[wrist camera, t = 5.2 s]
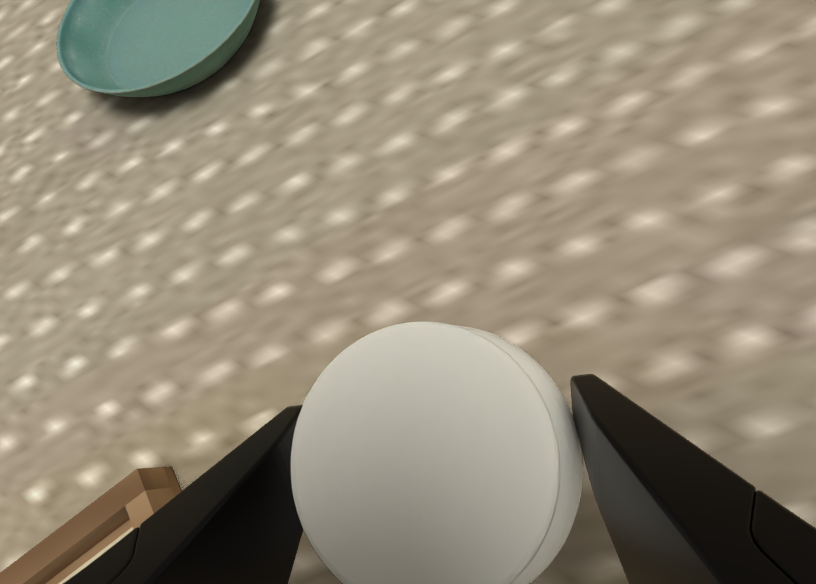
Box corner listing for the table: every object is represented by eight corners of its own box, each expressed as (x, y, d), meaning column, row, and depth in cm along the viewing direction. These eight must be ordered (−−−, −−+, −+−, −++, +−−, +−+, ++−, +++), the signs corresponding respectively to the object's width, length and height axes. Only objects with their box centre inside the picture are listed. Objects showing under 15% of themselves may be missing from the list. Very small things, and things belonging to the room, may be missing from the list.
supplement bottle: (414, 360, 17) (301, 257, 8) (563, 389, 15) (635, 302, 6) (380, 513, 15) (192, 603, 6) (541, 561, 14) (598, 769, 5)
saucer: (244, 124, 26) (217, 91, 24) (58, 121, 30) (19, 93, 28) (305, -52, 31) (288, -95, 28) (136, -34, 34) (108, -71, 32)
